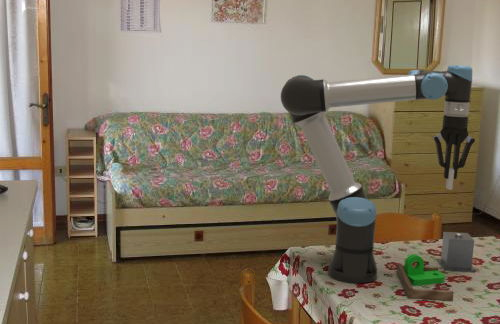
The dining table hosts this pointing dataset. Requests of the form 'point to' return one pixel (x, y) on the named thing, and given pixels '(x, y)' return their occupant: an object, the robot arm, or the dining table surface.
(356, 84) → the robot arm
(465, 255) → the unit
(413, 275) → the mechanical part
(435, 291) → the bay
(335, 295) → the dining table surface
